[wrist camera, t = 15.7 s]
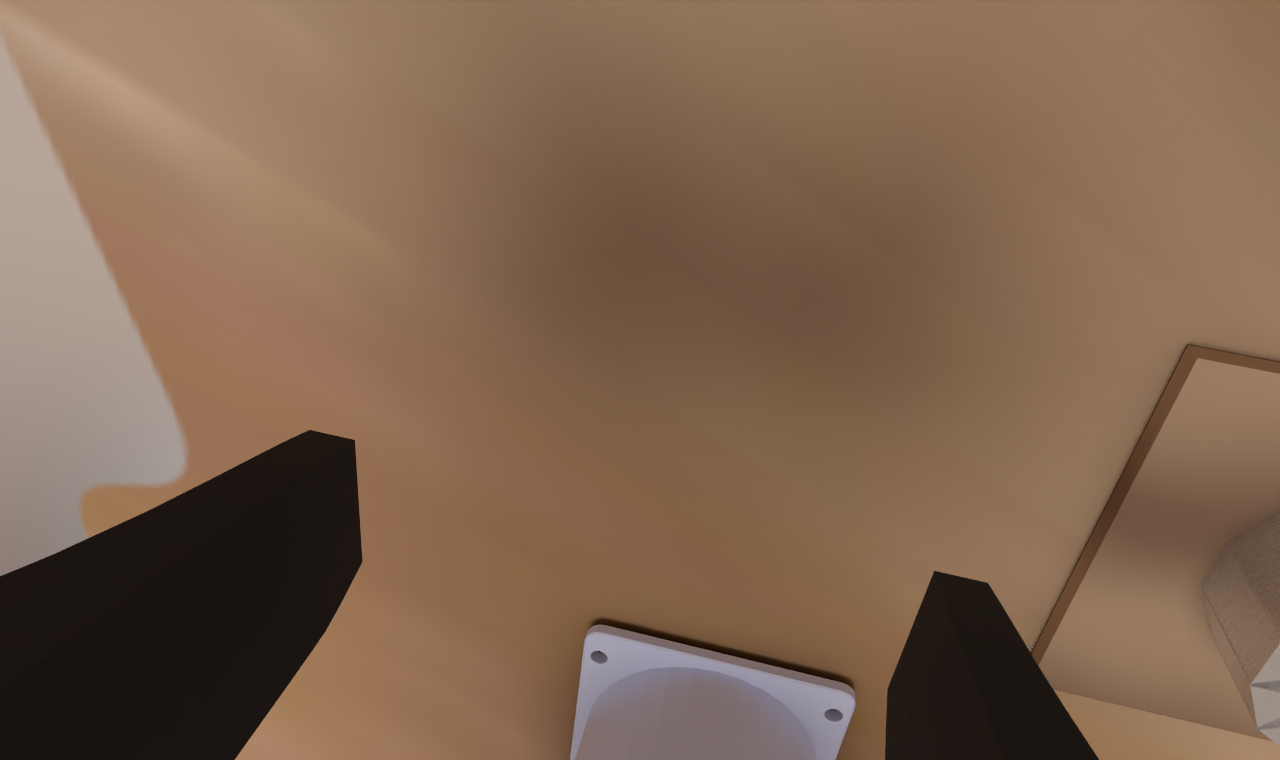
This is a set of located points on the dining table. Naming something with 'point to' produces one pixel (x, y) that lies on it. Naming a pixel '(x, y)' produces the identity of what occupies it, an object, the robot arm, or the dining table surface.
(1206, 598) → the tube
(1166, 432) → the shaft stand
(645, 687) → the robot arm
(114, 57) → the dining table surface
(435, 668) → the dining table surface
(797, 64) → the dining table surface
